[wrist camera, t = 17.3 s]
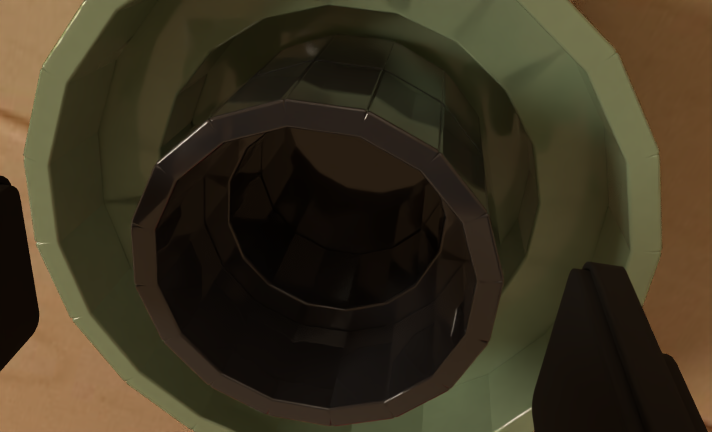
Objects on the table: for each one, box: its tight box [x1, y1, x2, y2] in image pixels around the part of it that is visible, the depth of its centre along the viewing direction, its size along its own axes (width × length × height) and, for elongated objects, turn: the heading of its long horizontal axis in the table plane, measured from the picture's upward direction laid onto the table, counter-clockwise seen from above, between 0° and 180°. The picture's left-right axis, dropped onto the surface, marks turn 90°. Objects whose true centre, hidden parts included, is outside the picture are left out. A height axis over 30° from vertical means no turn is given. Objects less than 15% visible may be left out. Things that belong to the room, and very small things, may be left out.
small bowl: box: [131, 34, 504, 426], centre depth 15 cm, size 7×7×6 cm
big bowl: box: [23, 0, 662, 432], centre depth 16 cm, size 13×13×5 cm
